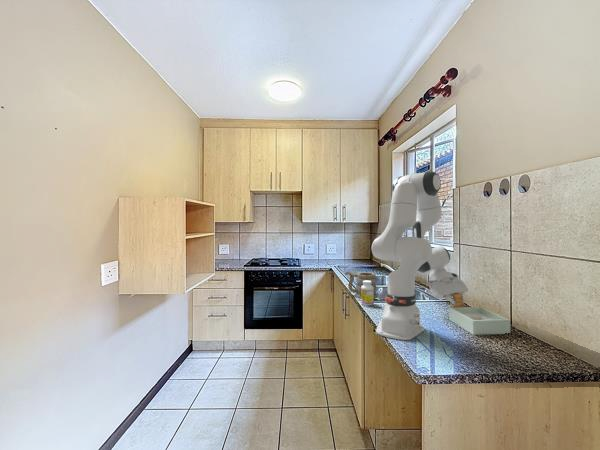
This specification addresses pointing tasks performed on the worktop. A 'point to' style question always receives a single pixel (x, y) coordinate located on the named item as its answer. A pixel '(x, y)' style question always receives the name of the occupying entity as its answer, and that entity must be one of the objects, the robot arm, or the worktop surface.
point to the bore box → (479, 320)
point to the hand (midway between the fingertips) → (459, 303)
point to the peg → (458, 300)
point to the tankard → (360, 279)
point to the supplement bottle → (367, 293)
